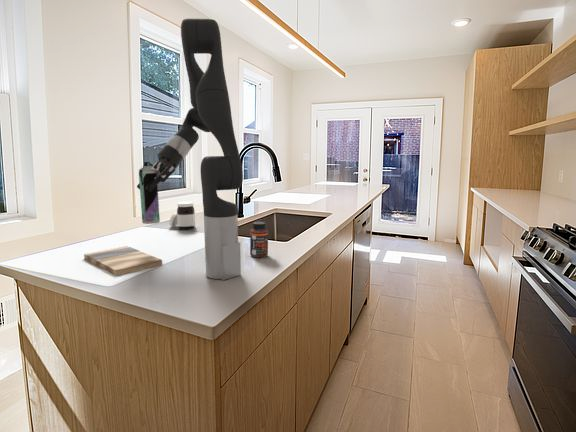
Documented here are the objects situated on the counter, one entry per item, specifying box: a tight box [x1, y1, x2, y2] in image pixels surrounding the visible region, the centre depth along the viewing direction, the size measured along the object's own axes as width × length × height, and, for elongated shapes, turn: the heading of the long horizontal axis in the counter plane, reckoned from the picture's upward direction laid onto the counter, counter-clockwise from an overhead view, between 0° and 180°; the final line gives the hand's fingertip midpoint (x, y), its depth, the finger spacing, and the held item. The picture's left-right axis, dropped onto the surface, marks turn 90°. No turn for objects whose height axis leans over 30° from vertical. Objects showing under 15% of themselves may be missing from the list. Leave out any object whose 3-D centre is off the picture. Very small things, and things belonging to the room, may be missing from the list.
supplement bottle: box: [249, 221, 269, 259], centre depth 123 cm, size 6×6×11 cm
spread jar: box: [168, 201, 196, 231], centre depth 167 cm, size 12×11×12 cm
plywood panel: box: [83, 245, 163, 276], centre depth 117 cm, size 24×14×2 cm, turn 48°
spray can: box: [138, 161, 161, 225], centre depth 122 cm, size 6×6×20 cm
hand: (143, 189), depth 120 cm, fingers closed on spray can, 5 cm apart
